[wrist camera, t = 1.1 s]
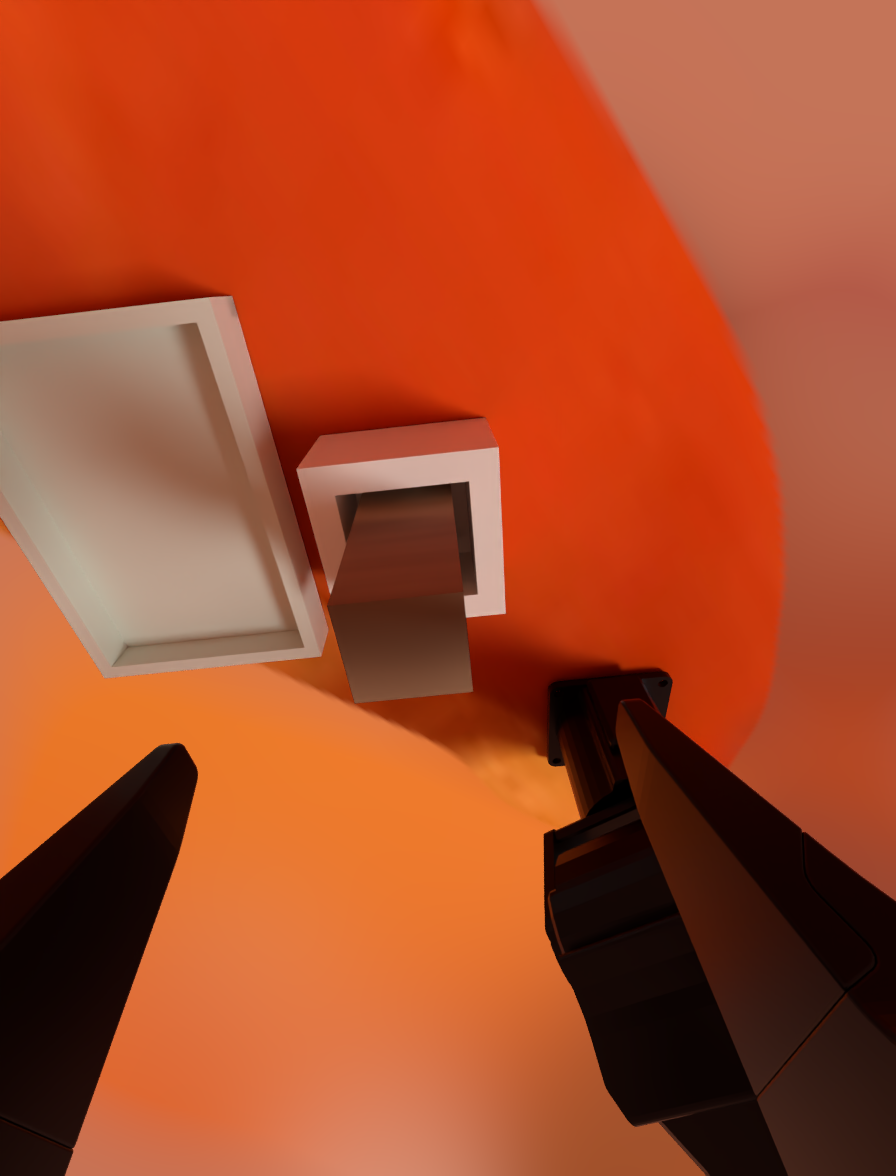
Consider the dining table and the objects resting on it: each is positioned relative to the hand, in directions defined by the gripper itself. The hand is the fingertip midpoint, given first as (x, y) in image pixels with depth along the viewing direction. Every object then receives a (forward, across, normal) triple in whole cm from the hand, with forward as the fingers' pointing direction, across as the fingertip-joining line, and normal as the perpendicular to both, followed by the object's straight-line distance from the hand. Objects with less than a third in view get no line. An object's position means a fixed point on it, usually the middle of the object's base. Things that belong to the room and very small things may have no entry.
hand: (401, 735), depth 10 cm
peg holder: (+12, 0, 0) cm, 12 cm away
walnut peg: (+12, 0, 0) cm, 12 cm away
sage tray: (+12, +10, -1) cm, 16 cm away
